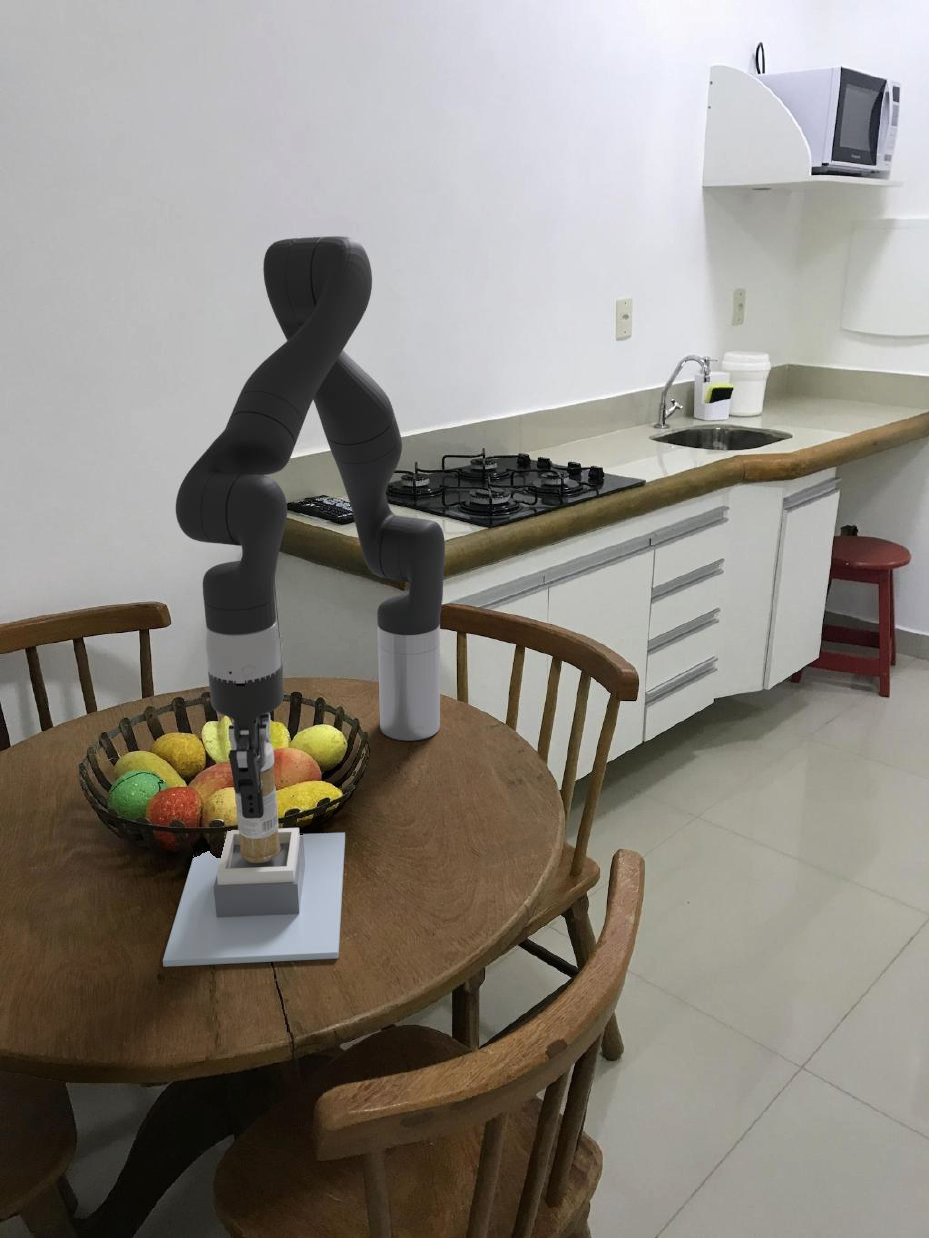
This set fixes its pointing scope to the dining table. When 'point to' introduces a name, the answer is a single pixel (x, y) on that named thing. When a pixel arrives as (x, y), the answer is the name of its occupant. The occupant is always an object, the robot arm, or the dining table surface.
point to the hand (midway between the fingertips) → (256, 803)
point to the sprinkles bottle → (261, 820)
